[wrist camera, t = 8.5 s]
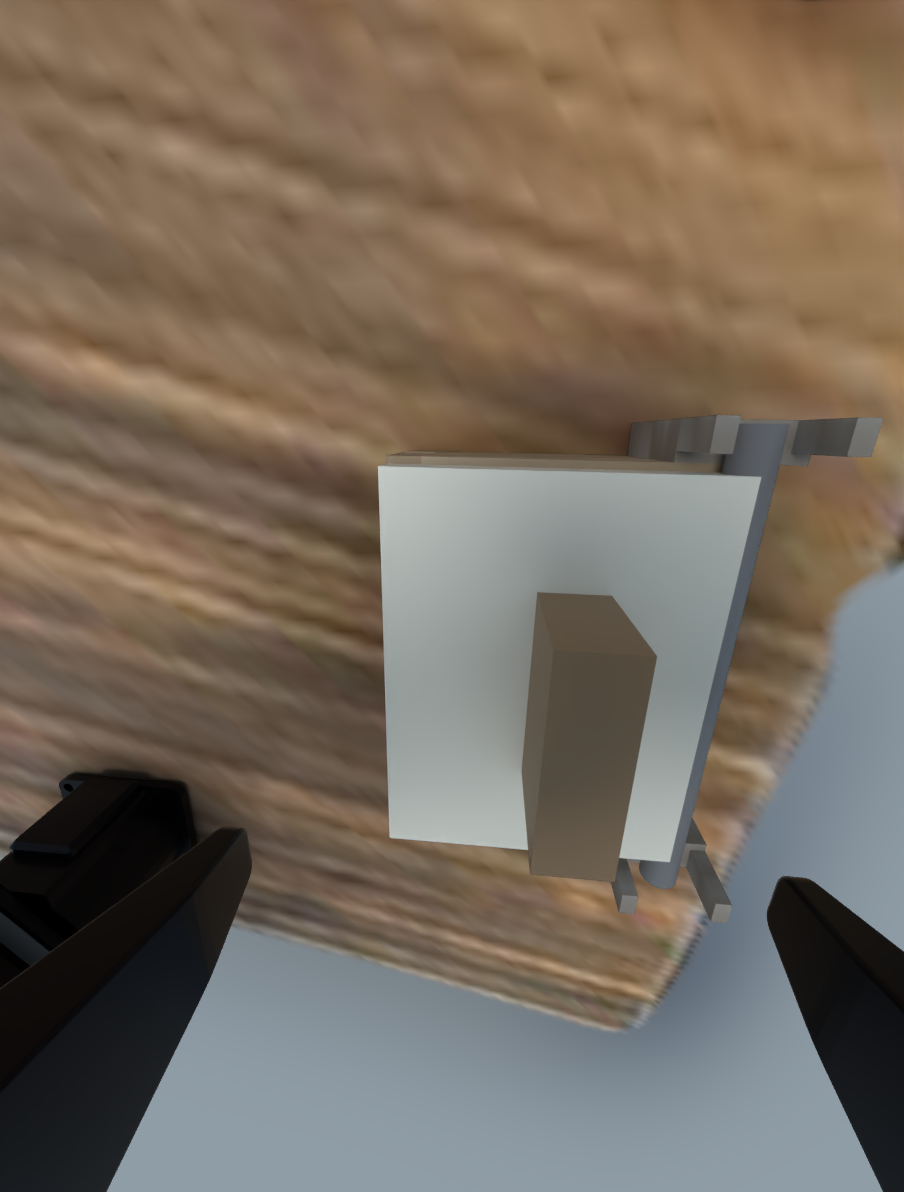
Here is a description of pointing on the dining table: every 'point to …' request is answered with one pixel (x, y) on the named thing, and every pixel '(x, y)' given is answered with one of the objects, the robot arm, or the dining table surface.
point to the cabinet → (685, 451)
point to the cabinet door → (563, 650)
